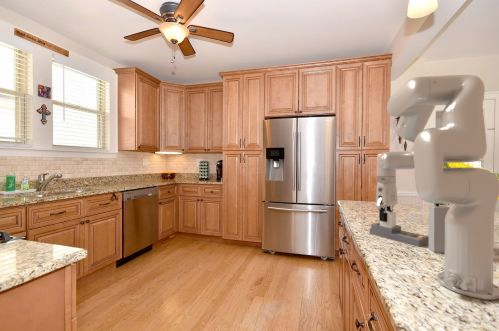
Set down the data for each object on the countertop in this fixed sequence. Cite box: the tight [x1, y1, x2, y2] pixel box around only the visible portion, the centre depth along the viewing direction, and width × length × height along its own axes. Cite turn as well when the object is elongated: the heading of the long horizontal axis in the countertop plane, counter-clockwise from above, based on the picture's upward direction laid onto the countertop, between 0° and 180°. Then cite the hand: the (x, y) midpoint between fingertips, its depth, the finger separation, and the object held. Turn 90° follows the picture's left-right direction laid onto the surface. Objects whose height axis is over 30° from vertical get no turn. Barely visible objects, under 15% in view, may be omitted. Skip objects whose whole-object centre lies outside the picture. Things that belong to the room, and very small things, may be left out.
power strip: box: [369, 221, 429, 248], centre depth 104 cm, size 9×20×5 cm, turn 32°
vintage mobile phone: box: [428, 203, 451, 254], centre depth 88 cm, size 4×5×25 cm
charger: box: [379, 211, 397, 228], centre depth 107 cm, size 4×5×8 cm
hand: (385, 220), depth 108 cm, fingers closed on charger, 4 cm apart
